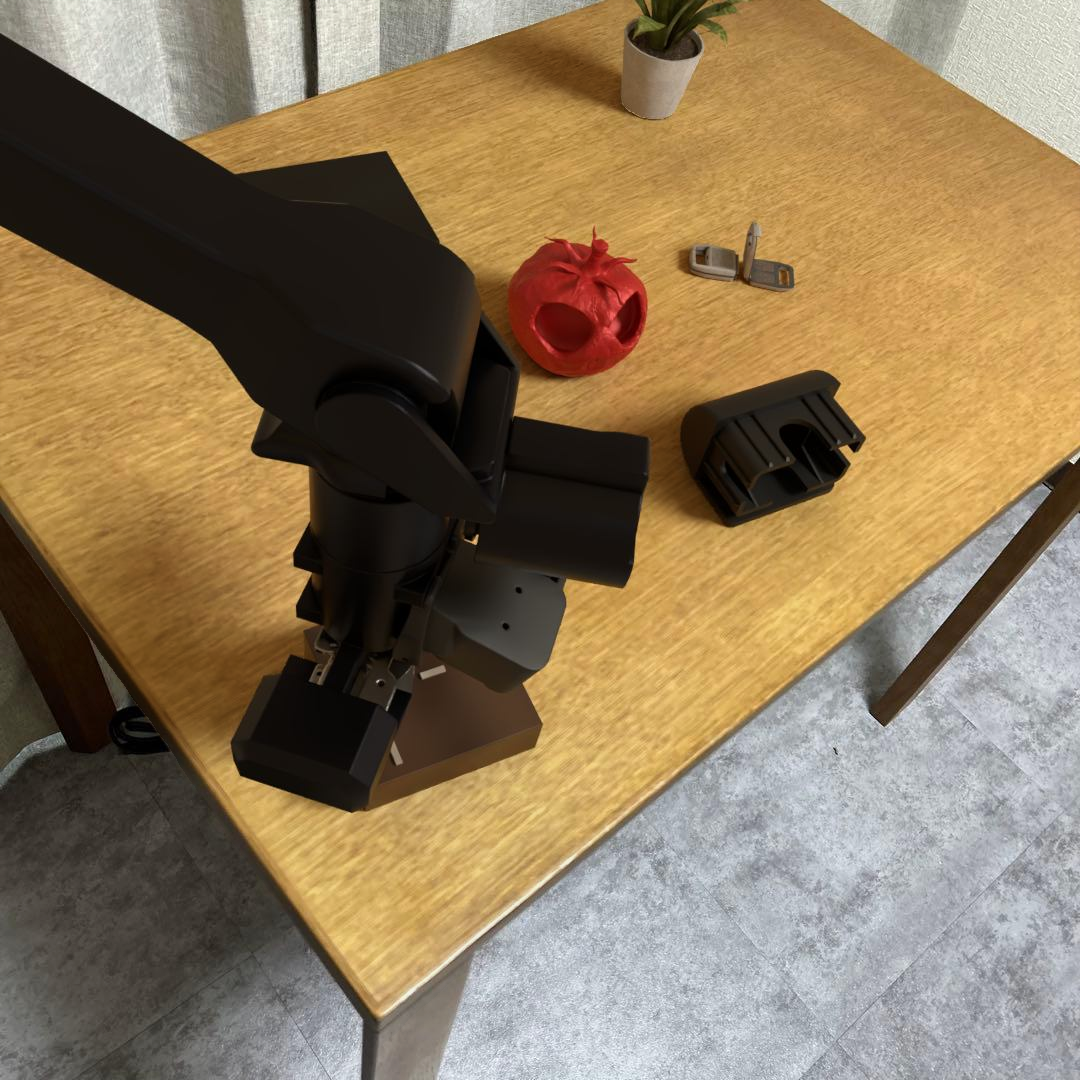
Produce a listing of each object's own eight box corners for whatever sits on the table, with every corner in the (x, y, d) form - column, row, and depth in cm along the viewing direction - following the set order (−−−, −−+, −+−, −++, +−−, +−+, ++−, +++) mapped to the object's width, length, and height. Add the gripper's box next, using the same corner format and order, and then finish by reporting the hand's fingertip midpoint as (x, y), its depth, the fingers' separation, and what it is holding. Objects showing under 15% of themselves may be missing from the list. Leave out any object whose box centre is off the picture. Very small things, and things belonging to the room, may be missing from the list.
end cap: (782, 416, 80) (815, 349, 74) (840, 489, 77) (878, 425, 71) (667, 454, 76) (692, 386, 71) (721, 532, 73) (753, 468, 67)
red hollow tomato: (487, 299, 82) (503, 196, 75) (614, 291, 85) (641, 191, 77) (519, 399, 77) (539, 299, 69) (653, 387, 80) (686, 289, 72)
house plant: (691, 182, 94) (750, -4, 81) (546, 121, 96) (580, -70, 83) (744, 103, 102) (805, -78, 89) (609, 48, 104) (650, -137, 91)
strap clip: (687, 275, 87) (702, 232, 84) (688, 250, 89) (702, 207, 86) (792, 294, 88) (811, 253, 84) (791, 269, 90) (809, 227, 86)
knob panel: (324, 828, 58) (323, 805, 55) (264, 669, 62) (261, 640, 60) (535, 747, 62) (544, 723, 59) (465, 604, 67) (470, 576, 64)
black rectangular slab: (184, 323, 76) (177, 279, 73) (140, 213, 82) (132, 168, 79) (442, 271, 83) (447, 229, 80) (385, 173, 89) (387, 130, 86)
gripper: (499, 776, 40) (459, 907, 53) (616, 418, 51) (560, 597, 64) (210, 681, 41) (239, 833, 53) (388, 346, 52) (377, 538, 64)
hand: (369, 690), depth 59 cm, fingers closed on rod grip, 4 cm apart
